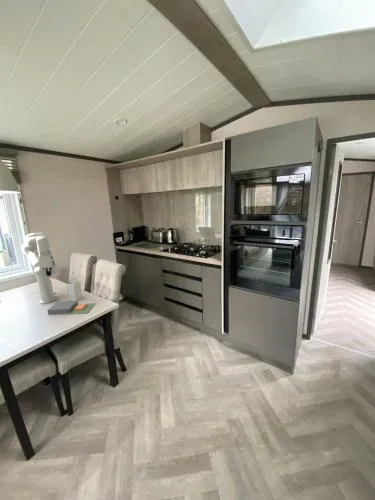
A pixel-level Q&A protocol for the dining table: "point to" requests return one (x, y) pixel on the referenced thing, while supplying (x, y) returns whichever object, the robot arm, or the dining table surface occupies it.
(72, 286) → the milk carton
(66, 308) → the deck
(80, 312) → the mat
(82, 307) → the tile
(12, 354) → the dining table surface
